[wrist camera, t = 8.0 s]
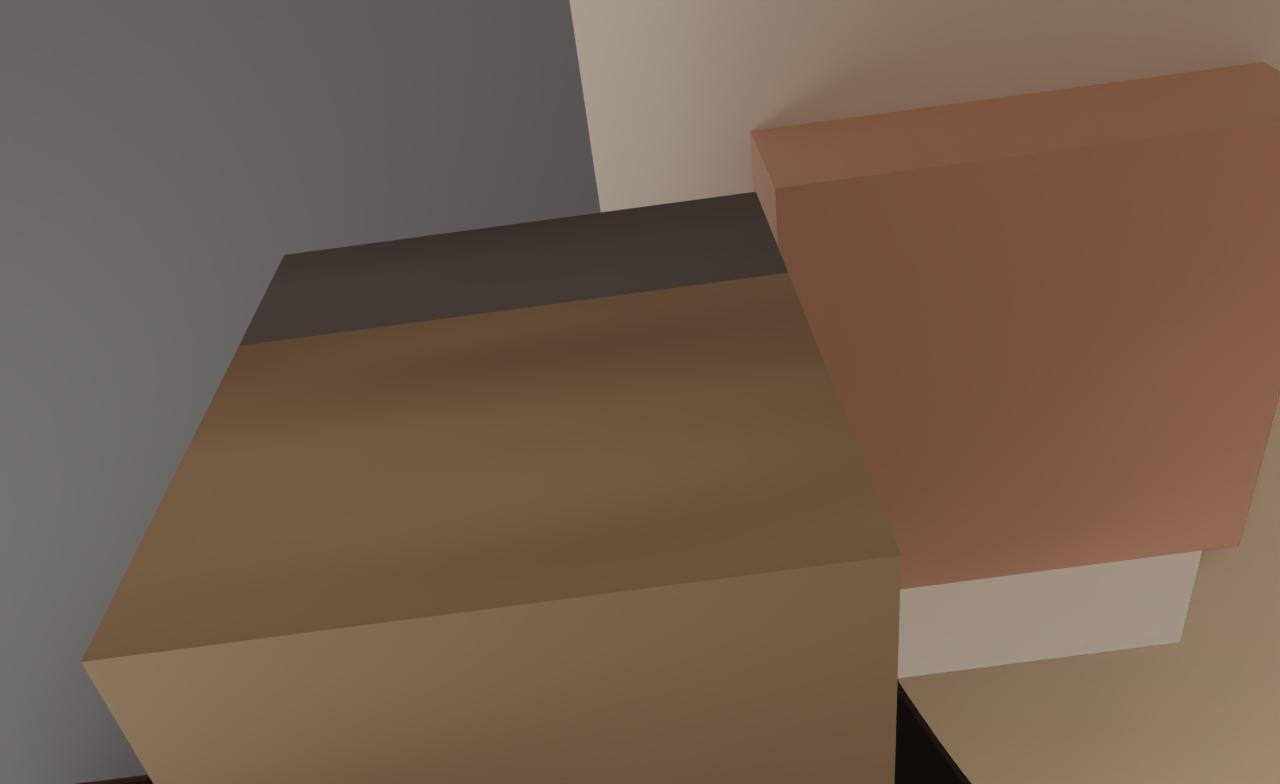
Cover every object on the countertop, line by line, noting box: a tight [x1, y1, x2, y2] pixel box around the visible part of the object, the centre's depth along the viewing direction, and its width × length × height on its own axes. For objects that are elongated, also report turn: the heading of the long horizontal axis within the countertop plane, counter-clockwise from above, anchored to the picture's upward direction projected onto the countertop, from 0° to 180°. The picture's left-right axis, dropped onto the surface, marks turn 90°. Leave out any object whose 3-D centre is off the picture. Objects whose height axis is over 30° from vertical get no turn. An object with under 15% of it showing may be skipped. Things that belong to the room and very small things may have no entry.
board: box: [0, 0, 1280, 784], centre depth 17 cm, size 16×28×2 cm, turn 97°
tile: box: [750, 62, 1280, 589], centre depth 15 cm, size 7×7×2 cm
